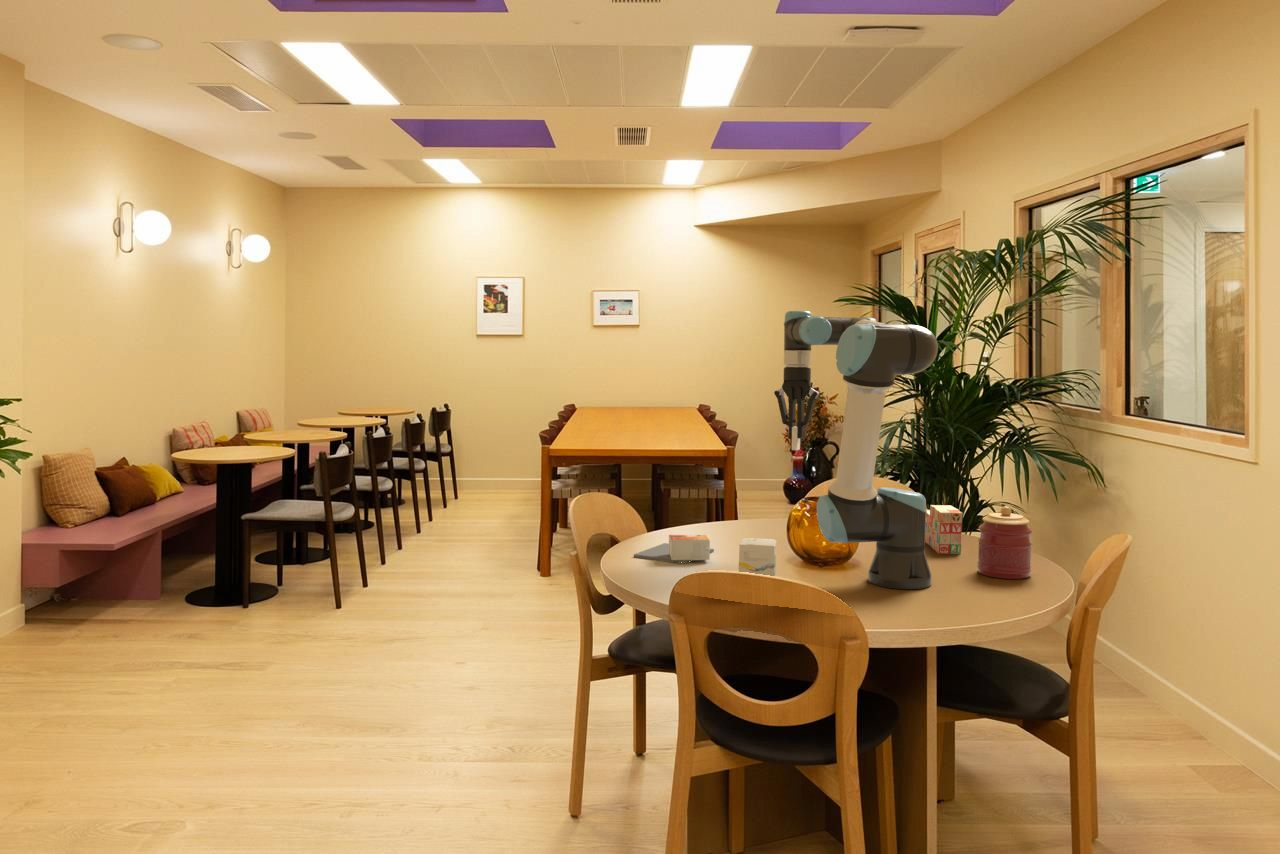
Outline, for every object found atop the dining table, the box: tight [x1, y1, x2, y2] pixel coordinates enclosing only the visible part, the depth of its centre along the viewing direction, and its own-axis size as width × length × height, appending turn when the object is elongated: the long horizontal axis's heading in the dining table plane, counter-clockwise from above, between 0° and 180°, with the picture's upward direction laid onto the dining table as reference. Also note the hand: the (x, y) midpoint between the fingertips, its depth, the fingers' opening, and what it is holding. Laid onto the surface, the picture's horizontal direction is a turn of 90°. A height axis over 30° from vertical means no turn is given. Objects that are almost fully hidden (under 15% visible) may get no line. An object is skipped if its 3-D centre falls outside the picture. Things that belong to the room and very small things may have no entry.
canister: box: [976, 505, 1034, 580], centre depth 241 cm, size 13×13×18 cm
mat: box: [633, 542, 715, 564], centre depth 263 cm, size 16×18×1 cm
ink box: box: [738, 537, 777, 576], centre depth 225 cm, size 8×8×12 cm
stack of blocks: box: [925, 504, 964, 555], centre depth 276 cm, size 21×6×12 cm, turn 176°
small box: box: [668, 534, 711, 561], centre depth 256 cm, size 8×6×10 cm
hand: (795, 449), depth 264 cm, fingers closed
